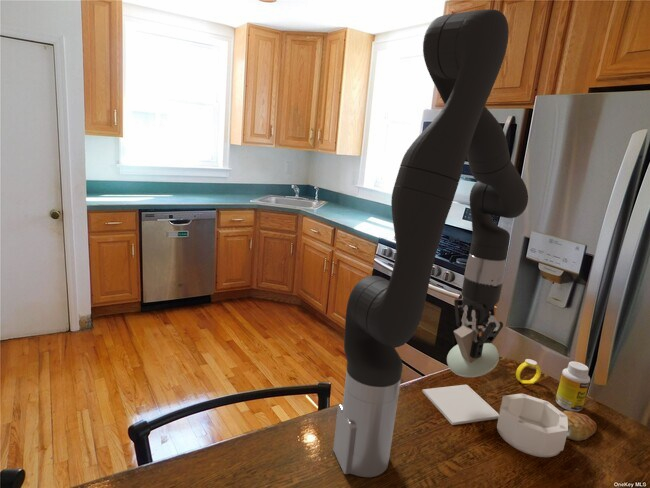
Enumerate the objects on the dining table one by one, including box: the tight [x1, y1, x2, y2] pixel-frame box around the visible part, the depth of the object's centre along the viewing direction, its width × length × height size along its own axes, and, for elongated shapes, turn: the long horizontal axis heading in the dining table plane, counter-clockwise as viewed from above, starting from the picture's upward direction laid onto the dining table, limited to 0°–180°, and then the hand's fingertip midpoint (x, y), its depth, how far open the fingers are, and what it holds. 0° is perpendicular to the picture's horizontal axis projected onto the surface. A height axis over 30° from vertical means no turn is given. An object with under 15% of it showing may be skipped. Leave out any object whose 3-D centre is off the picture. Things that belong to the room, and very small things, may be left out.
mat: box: [422, 384, 499, 426], centre depth 95 cm, size 12×12×1 cm
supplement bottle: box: [555, 360, 591, 413], centre depth 98 cm, size 6×6×10 cm
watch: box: [515, 358, 542, 385], centre depth 106 cm, size 6×3×6 cm, turn 99°
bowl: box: [496, 393, 568, 458], centre depth 86 cm, size 12×12×6 cm
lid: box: [446, 325, 500, 378], centre depth 91 cm, size 11×11×8 cm
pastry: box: [561, 409, 598, 442], centre depth 90 cm, size 9×7×4 cm
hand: (469, 352), depth 92 cm, fingers closed on lid, 3 cm apart
